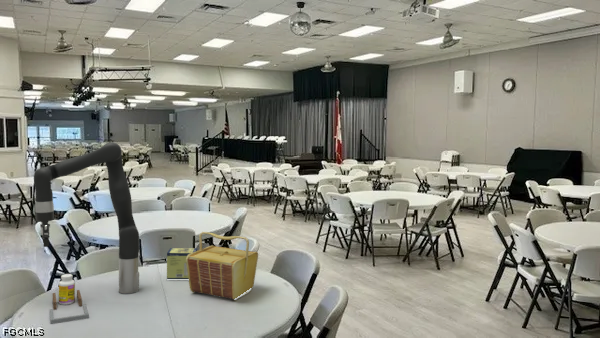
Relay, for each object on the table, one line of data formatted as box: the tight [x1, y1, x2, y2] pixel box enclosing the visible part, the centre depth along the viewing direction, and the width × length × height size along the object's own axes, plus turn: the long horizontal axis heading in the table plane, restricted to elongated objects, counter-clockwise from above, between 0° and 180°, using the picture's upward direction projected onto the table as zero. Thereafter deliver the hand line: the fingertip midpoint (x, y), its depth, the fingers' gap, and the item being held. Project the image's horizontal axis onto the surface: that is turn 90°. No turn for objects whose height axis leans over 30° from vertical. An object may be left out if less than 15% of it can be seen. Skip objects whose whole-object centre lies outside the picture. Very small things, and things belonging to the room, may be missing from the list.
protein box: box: [166, 247, 198, 280], centre depth 254 cm, size 10×16×16 cm
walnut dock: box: [52, 289, 83, 311], centre depth 212 cm, size 11×13×4 cm
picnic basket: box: [186, 231, 259, 300], centre depth 233 cm, size 29×26×30 cm
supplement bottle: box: [58, 273, 76, 306], centre depth 212 cm, size 7×7×13 cm
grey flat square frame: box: [49, 304, 90, 325], centre depth 198 cm, size 14×13×2 cm
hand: (45, 244), depth 216 cm, fingers open, 8 cm apart
